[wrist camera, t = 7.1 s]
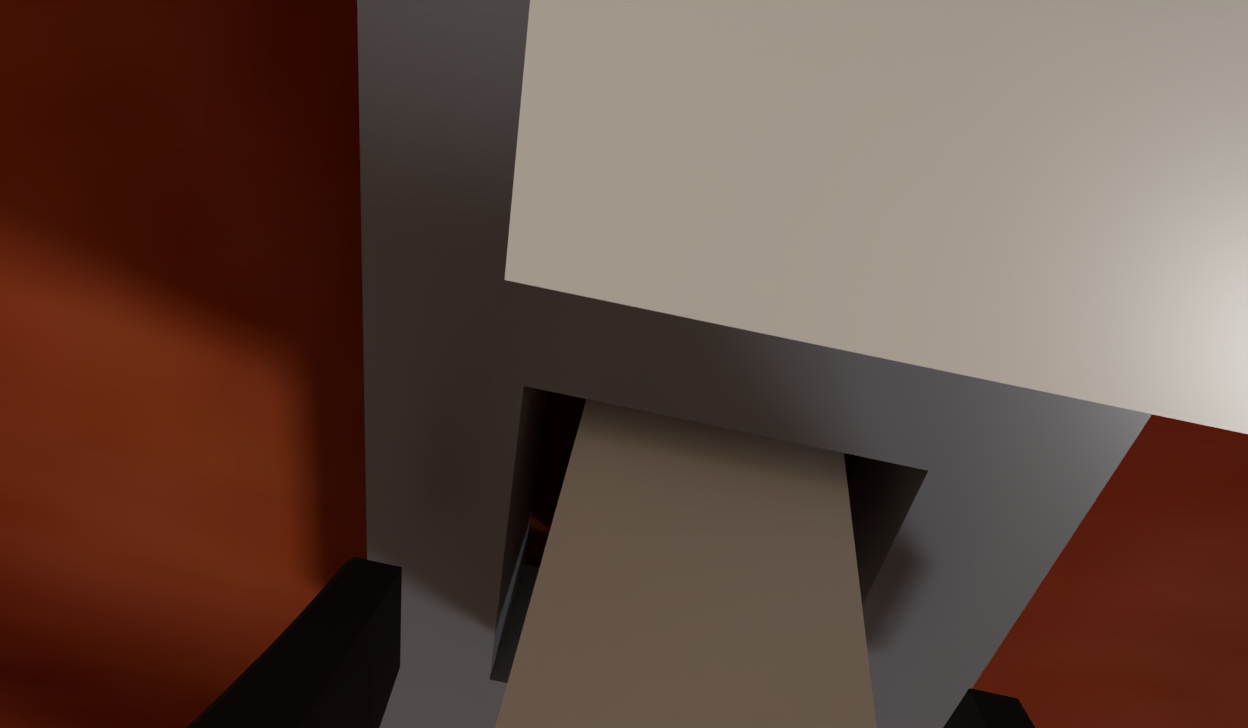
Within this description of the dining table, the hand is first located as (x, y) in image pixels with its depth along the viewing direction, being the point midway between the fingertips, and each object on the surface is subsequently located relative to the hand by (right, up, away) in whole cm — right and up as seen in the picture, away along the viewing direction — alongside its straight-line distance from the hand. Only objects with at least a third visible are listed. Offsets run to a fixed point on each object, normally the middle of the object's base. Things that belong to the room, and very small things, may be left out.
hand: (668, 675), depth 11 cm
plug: (0, +2, +3) cm, 4 cm away
